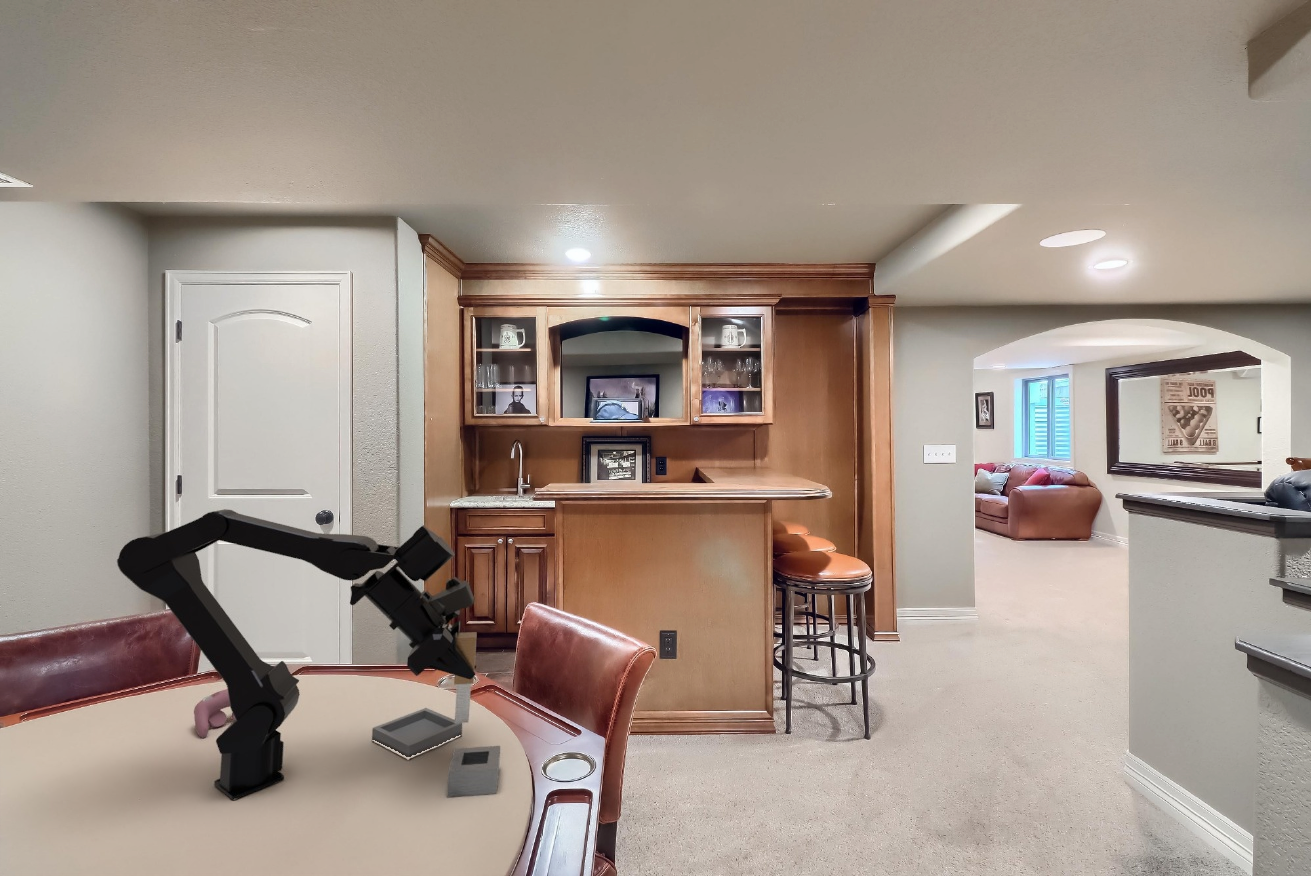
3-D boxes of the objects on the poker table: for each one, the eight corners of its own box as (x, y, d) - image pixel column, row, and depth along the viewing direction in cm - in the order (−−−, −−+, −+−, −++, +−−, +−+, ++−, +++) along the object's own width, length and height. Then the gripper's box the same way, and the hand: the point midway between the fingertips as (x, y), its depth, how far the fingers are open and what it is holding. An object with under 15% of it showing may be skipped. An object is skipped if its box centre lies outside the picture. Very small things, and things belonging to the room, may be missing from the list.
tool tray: (408, 760, 90) (409, 745, 90) (371, 741, 96) (372, 727, 96) (461, 736, 99) (462, 723, 99) (425, 720, 104) (425, 707, 104)
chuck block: (496, 793, 82) (497, 768, 82) (447, 797, 81) (448, 771, 81) (499, 768, 89) (500, 745, 89) (453, 772, 87) (454, 748, 88)
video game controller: (260, 723, 104) (256, 683, 107) (269, 718, 102) (265, 677, 104) (191, 742, 97) (189, 699, 99) (199, 738, 94) (196, 693, 96)
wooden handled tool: (470, 723, 89) (475, 637, 90) (451, 724, 89) (456, 637, 89) (471, 715, 92) (476, 632, 93) (453, 716, 91) (458, 632, 92)
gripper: (437, 576, 81) (514, 654, 84) (449, 555, 99) (512, 619, 102) (372, 635, 79) (453, 713, 81) (396, 602, 97) (462, 667, 99)
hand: (473, 673), depth 91 cm, fingers closed on wooden handled tool, 3 cm apart
